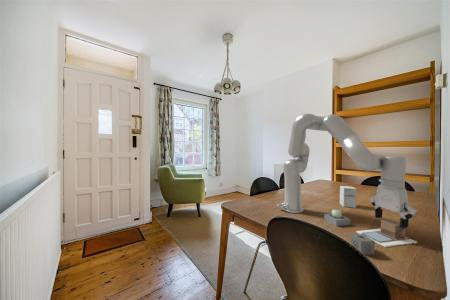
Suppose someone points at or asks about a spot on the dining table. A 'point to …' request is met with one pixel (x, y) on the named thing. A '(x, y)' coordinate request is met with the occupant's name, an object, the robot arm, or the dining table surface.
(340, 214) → the button
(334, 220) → the button housing
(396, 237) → the walnut block
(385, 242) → the picture card
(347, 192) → the supplement box
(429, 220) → the dining table surface
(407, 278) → the dining table surface
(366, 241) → the dice cube
